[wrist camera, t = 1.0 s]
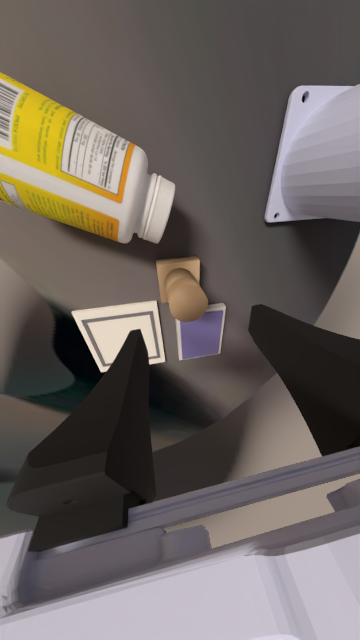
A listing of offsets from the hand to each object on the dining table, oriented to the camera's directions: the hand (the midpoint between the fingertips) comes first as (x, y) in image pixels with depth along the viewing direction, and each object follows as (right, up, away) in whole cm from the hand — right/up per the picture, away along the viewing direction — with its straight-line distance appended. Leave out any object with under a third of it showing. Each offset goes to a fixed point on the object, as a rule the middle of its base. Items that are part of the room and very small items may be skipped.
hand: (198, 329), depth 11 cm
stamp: (-2, +5, +7) cm, 9 cm away
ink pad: (+1, -1, +12) cm, 12 cm away
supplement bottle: (-12, +10, -2) cm, 16 cm away
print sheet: (-8, -2, +11) cm, 14 cm away
